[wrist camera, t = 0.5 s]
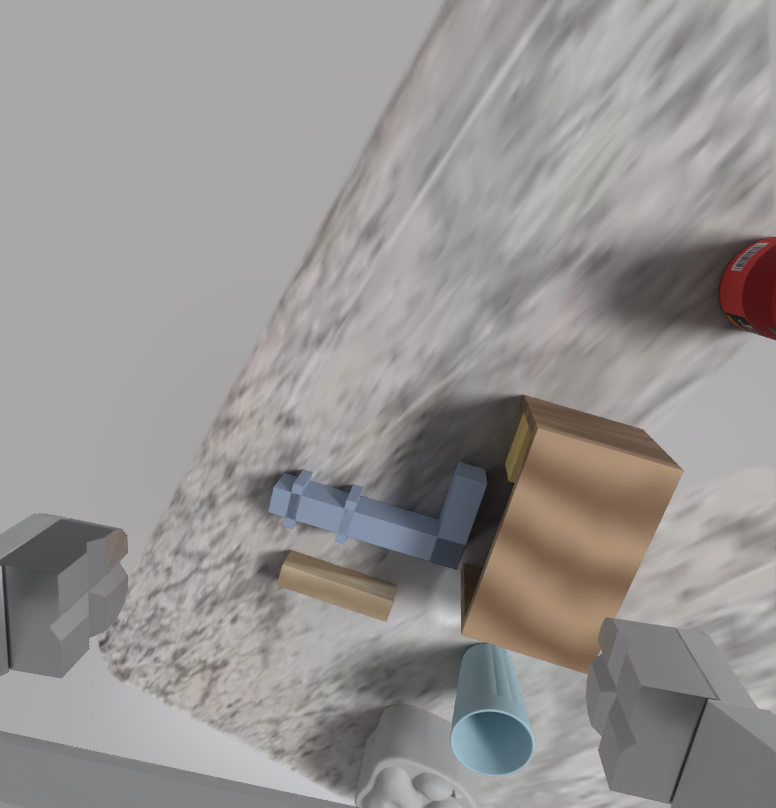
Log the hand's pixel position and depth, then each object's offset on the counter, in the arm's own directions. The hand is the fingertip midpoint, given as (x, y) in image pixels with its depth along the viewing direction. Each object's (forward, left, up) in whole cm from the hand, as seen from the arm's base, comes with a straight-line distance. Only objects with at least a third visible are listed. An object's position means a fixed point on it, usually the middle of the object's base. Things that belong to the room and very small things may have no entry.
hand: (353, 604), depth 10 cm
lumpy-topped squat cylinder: (+49, +13, -45) cm, 68 cm away
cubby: (+15, +15, -45) cm, 49 cm away
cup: (+35, +16, -45) cm, 59 cm away
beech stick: (+30, -2, -45) cm, 54 cm away
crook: (+19, -1, -45) cm, 49 cm away
